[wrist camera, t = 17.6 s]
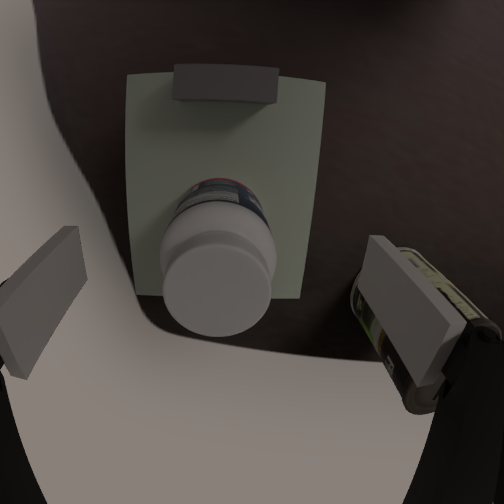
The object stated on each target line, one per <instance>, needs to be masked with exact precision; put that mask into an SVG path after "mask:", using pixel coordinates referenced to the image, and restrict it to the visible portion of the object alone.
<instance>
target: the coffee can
mask: <svg viewBox="0 0 504 504" xmlns="http://www.w3.org/2000/svg"><path fill="white" fill-rule="evenodd" d="M397 249H398V250H399V251H400V252H401V253H402V254H403V255H404V256H405V257H406V258H407V259H408V260H409V261H410V262H411V263H412V264H413V265H414V266H415V267H416V268H417V269H418V270H419V271H420V272H421V273H422V274H423V275H424V276H425V277H426V278H427V279H428V280H429V281H430V282H431V283H432V284H433V285H434V286H435V287H436V288H438V289H439V290H441V291H442V292H444V293H445V294H446V295H447V296H448V297H449V298H450V299H451V302H453V303H454V304H455V305H456V306H457V308H459V309H460V310H461V311H462V312H463V314H464V315H465V316H466V317H467V318H468V319H469V320H470V322H471V323H472V324H473V325H474V326H475V327H476V326H485V327H488V328H490V329H492V330H493V331H495V332H496V333H497V334H498V335H499V336H500V338H501V340H502V334H501V330H500V328H499V327H498V326H497V325H496V324H495V323H494V322H492V321H491V320H489V319H488V318H487V317H486V316H485V315H484V314H483V313H482V312H481V311H480V310H479V309H478V308H477V307H476V306H475V305H474V304H473V303H472V302H471V301H470V300H469V299H468V298H467V297H466V296H465V295H464V294H463V293H462V292H461V291H459V290H458V289H457V288H456V287H455V286H454V285H453V284H452V283H451V282H450V281H449V280H448V279H446V278H445V277H444V276H443V275H442V274H441V273H440V272H439V271H438V270H437V269H435V268H434V267H433V266H432V265H431V264H430V263H429V262H428V261H426V260H425V259H424V258H423V257H422V256H421V254H420V253H418V252H417V251H415V250H413V249H411V248H406V247H397ZM360 274H361V271H360V272H359V274H358V275H357V277H356V279H355V281H354V283H353V286H352V290H351V294H350V304H351V308H352V311H353V313H354V315H355V316H356V318H357V319H358V320H359V322H360V323H361V325H362V327H363V328H364V330H365V332H366V334H367V335H368V337H369V339H370V341H371V342H372V344H373V346H374V348H375V349H376V351H377V353H378V355H379V357H380V358H381V360H382V362H383V364H384V365H385V367H386V369H387V371H388V373H389V375H390V377H391V378H392V380H393V382H394V384H395V386H396V388H397V390H398V391H399V393H400V395H401V397H402V401H403V404H404V406H405V408H406V410H407V411H408V412H410V413H412V414H417V415H422V414H428V413H432V412H435V409H436V405H437V401H438V397H439V396H438V397H437V398H436V399H435V401H434V400H432V399H433V397H434V396H435V394H436V393H437V391H438V389H439V388H440V386H441V385H442V383H443V382H444V380H445V376H444V375H443V373H442V371H441V373H440V374H439V376H438V378H437V379H436V381H435V383H434V384H430V385H426V386H421V387H417V386H416V384H415V382H414V380H413V379H412V377H411V375H410V373H409V371H408V370H407V368H406V366H405V364H404V363H403V361H402V359H401V357H400V356H399V354H398V352H397V351H396V349H395V347H394V346H393V344H392V342H391V340H390V339H389V337H388V335H387V334H386V332H385V331H384V329H383V327H382V326H381V324H380V322H379V321H378V319H377V317H376V316H375V314H374V313H373V311H372V309H371V308H370V306H369V305H368V303H367V301H366V300H365V298H364V297H363V295H362V294H361V292H360V290H359V289H358V287H357V286H358V282H359V278H360Z"/></svg>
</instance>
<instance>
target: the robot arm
mask: <svg viewBox="0 0 504 504" xmlns="http://www.w3.org/2000/svg"><path fill="white" fill-rule="evenodd" d="M86 281H87V276H86V270H85V265H84V259H83V254H82V248H81V242H80V235H79V228H78V226H64V227H63V228H62V229H60V230H59V231H58V232H57V233H56V234H55V235H54V236H52V237H51V238H50V239H49V240H48V241H47V242H46V243H45V244H44V245H43V246H41V247H40V248H39V249H38V250H37V251H36V252H35V253H34V254H33V255H32V256H31V257H30V258H29V259H28V260H27V261H26V262H25V263H24V264H23V265H22V266H21V267H20V268H19V269H18V270H17V271H16V272H15V273H14V274H13V275H12V276H11V277H10V278H8V279H7V280H5V281H3V282H2V283H1V285H0V369H1V368H2V366H3V364H5V366H6V367H7V369H8V371H9V373H10V375H11V376H14V377H18V378H21V379H26V380H27V379H28V377H29V375H30V373H31V371H32V369H33V367H34V365H35V364H36V362H37V360H38V358H39V356H40V355H41V353H42V351H43V349H44V348H45V346H46V344H47V342H48V341H49V339H50V337H51V336H52V334H53V332H54V331H55V329H56V327H57V326H58V324H59V323H60V321H61V319H62V318H63V316H64V314H65V313H66V311H67V310H68V308H69V307H70V305H71V303H72V302H73V300H74V299H75V297H76V296H77V294H78V293H79V291H80V290H81V288H82V287H83V285H84V284H85V282H86ZM357 287H358V289H359V290H360V292H361V294H362V295H363V297H364V298H365V300H366V301H367V303H368V305H369V306H370V308H371V309H372V311H373V313H374V314H375V316H376V317H377V319H378V321H379V322H380V324H381V326H382V327H383V329H384V331H385V332H386V334H387V335H388V337H389V339H390V340H391V342H392V344H393V346H394V347H395V349H396V351H397V352H398V354H399V356H400V357H401V359H402V361H403V363H404V364H405V366H406V368H407V370H408V371H409V373H410V375H411V377H412V379H413V380H414V382H415V384H416V386H417V387H421V386H426V385H430V384H434V383H435V381H436V379H437V378H438V376H439V374H440V373H441V371H442V373H443V375H444V376H445V380H444V382H443V383H442V385H441V386H440V388H439V389H438V391H437V393H436V394H435V396H434V397H433V399H432V400H434V401H435V399H436V398H437V397H438V396H439V397H438V401H437V405H436V409H435V413H434V417H433V420H432V424H431V427H430V431H429V434H428V437H427V441H426V444H425V447H424V450H423V453H422V455H421V458H420V461H419V464H418V467H417V469H416V472H415V475H414V477H413V480H412V482H411V485H410V487H409V489H408V492H407V494H406V497H405V499H404V501H403V503H402V504H504V341H502V340H501V338H500V336H499V335H498V334H497V333H496V332H495V331H493V330H492V329H490V328H488V327H485V326H476V327H475V326H474V325H473V324H472V323H471V322H470V320H469V319H468V318H467V317H466V316H465V315H464V314H463V312H462V311H461V310H460V309H459V308H457V306H456V305H455V304H454V303H453V302H451V299H450V298H449V297H448V296H447V295H446V294H445V293H444V292H442V291H441V290H439V289H438V288H436V287H435V286H434V285H433V284H432V283H431V282H430V281H429V280H428V279H427V278H426V277H425V276H424V275H423V274H422V273H421V272H420V271H419V270H418V269H417V268H416V267H415V266H414V265H413V264H412V263H411V262H410V261H409V260H408V259H407V258H406V257H405V256H404V255H403V254H402V253H401V252H400V251H399V250H398V249H397V248H396V247H395V246H394V245H393V244H392V243H391V242H390V241H389V240H388V239H387V238H386V237H385V236H377V235H370V236H369V241H368V245H367V249H366V254H365V258H364V262H363V266H362V270H361V274H360V278H359V282H358V286H357ZM0 504H47V502H46V500H45V498H44V496H43V494H42V491H41V489H40V487H39V485H38V483H37V480H36V478H35V476H34V473H33V471H32V468H31V466H30V464H29V461H28V458H27V456H26V453H25V450H24V448H23V445H22V442H21V439H20V436H19V433H18V429H17V426H16V423H15V420H14V416H13V413H12V409H11V406H10V402H9V398H8V394H7V389H6V385H5V380H4V377H3V375H2V373H1V371H0Z"/></svg>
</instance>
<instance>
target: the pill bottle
mask: <svg viewBox="0 0 504 504" xmlns="http://www.w3.org/2000/svg"><path fill="white" fill-rule="evenodd" d="M160 265H161V270H162V273H163V276H164V280H163V297H164V302H165V304H166V307H167V309H168V311H169V312H170V314H171V315H172V316H173V318H174V319H175V320H176V321H177V322H178V323H180V324H181V325H182V326H184V327H185V328H187V329H188V330H190V331H193V332H195V333H198V334H201V335H205V336H212V337H222V336H230V335H234V334H238V333H240V332H243V331H245V330H247V329H248V328H250V327H252V326H253V325H254V324H256V323H257V322H258V321H259V320H260V318H261V317H262V316H263V315H264V313H265V312H266V310H267V308H268V306H269V303H270V299H271V292H272V288H271V281H272V279H273V277H274V274H275V270H276V266H277V251H276V246H275V242H274V238H273V236H272V233H271V230H270V228H269V225H268V222H267V220H266V217H265V214H264V212H263V209H262V206H261V204H260V202H259V200H258V198H257V197H256V195H255V194H254V193H253V191H252V190H251V189H250V188H248V187H247V186H246V185H245V184H243V183H241V182H239V181H237V180H234V179H231V178H226V177H213V178H208V179H205V180H202V181H200V182H198V183H197V184H195V185H194V186H192V187H191V188H190V189H189V190H188V191H187V192H186V193H185V194H184V196H183V197H182V199H181V200H180V202H179V204H178V206H177V208H176V210H175V212H174V214H173V216H172V218H171V220H170V222H169V224H168V226H167V229H166V231H165V233H164V236H163V239H162V243H161V247H160Z"/></svg>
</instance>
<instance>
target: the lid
mask: <svg viewBox="0 0 504 504" xmlns="http://www.w3.org/2000/svg"><path fill="white" fill-rule="evenodd" d="M325 89H326V82H320V81H313V80H307V79H299V78H291V77H283V76H279V68H273V67H263V66H250V65H232V64H174V72H164V73H145V74H132V75H127V89H126V115H125V165H126V193H127V211H128V225H129V237H130V247H131V257H132V266H133V275H134V283H135V290H136V295H153V296H163V280H164V276H163V273H162V270H161V265H160V247H161V243H162V239H163V236H164V233H165V231H166V229H167V226H168V224H169V222H170V220H171V218H172V216H173V214H174V212H175V210H176V208H177V206H178V204H179V202H180V200H181V199H182V197H183V196H184V194H185V193H186V192H187V191H188V190H189V189H190V188H191V187H192V186H194V185H195V184H197V183H198V182H200V181H202V180H205V179H208V178H213V177H226V178H231V179H234V180H237V181H239V182H241V183H243V184H245V185H246V186H247V187H248V188H250V189H251V190H252V191H253V193H254V194H255V195H256V197H257V198H258V200H259V202H260V204H261V206H262V209H263V212H264V214H265V217H266V220H267V222H268V225H269V228H270V230H271V233H272V236H273V238H274V242H275V246H276V251H277V266H276V270H275V274H274V277H273V279H272V281H271V288H272V292H271V298H300V292H301V285H302V279H303V273H304V267H305V260H306V254H307V247H308V240H309V233H310V226H311V219H312V211H313V204H314V196H315V188H316V180H317V171H318V162H319V153H320V144H321V134H322V123H323V113H324V101H325Z"/></svg>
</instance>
